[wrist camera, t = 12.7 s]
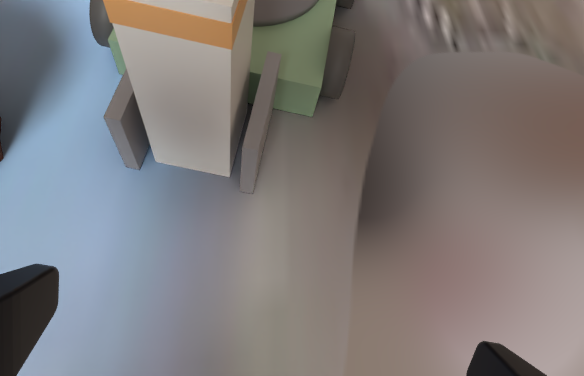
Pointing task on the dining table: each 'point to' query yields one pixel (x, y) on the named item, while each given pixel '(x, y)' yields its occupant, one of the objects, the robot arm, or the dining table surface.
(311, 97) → the green and grey base
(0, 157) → the muffin
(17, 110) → the dining table surface
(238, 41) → the beige box
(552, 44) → the dining table surface
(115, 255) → the dining table surface
